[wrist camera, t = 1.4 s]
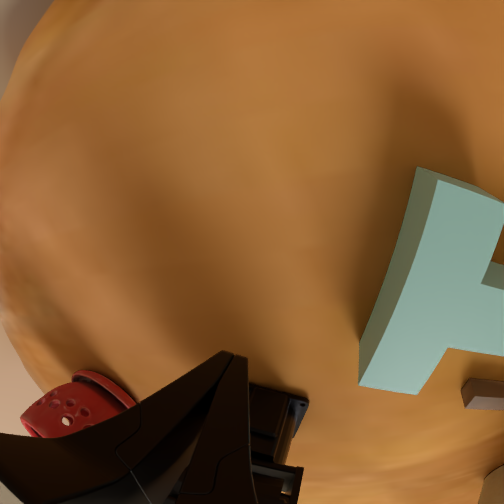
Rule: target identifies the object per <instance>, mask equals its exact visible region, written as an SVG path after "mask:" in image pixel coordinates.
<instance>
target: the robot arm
mask: <svg viewBox="0 0 504 504" xmlns="http://www.w3.org/2000/svg"><path fill="white" fill-rule="evenodd" d="M308 406H309V400H308V399H307V398H303V397H299V396H295V395H291V394H287V393H283V392H279V391H275V390H272V389H268V388H264V387H261V386H257V385H254V384H250V383H249V378H248V358H247V357H244V356H241V355H237V354H236V355H234V354H233V353H231V352H228V351H224V350H222V351H220V352H218V353H217V354H215V355H214V356H212V357H211V358H209V359H208V360H206V361H205V362H203V363H202V364H200V365H199V366H197V367H196V368H194V369H192V370H191V371H189V372H188V373H186V374H185V375H183V376H181V377H180V378H178V379H177V380H175V381H173V382H172V383H170V384H169V385H167V386H165V387H164V388H162V389H161V390H159V391H157V392H156V393H154V394H152V395H151V396H149V397H147V398H146V399H144V400H142V401H141V402H140V403H137V404H135V405H134V406H132V407H130V408H129V409H127V410H125V411H123V412H121V413H119V414H117V415H115V416H113V417H111V418H109V419H107V420H104V421H102V422H100V423H97V424H95V425H92V426H90V427H87V428H85V429H82V430H79V431H77V432H74V433H71V434H69V435H66V436H62V437H56V438H42V437H30V436H20V435H13V434H5V433H0V504H297V501H298V496H299V491H300V486H301V481H302V476H303V470H304V467H298V466H297V467H293V466H288V465H285V463H286V459H287V456H288V452H289V448H290V445H291V441H292V438H294V436H295V434H296V432H297V430H298V428H299V426H300V423H301V421H302V419H303V417H304V415H305V413H306V410H307V408H308ZM281 491H283V492H286V493H285V494H284V493H281Z"/></svg>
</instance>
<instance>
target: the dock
mask: <svg viewBox="0 0 504 504" xmlns="http://www.w3.org/2000/svg"><path fill="white" fill-rule="evenodd" d="M461 394H462V398H463V402H464V406H465V409H482V410H504V382H503V381H492V380H482V379H473V378H470V379H469V380H468V381H467V383H466V384H465V385H464V387H463V388H462V389H461Z"/></svg>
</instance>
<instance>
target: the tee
mask: <svg viewBox="0 0 504 504" xmlns="http://www.w3.org/2000/svg"><path fill="white" fill-rule="evenodd" d="M503 224H504V202H502V201H501V200H499V199H497V198H496V197H494V196H492V195H491V194H489V193H487V192H486V191H484V190H482V189H481V188H479V187H477V186H474V185H472V184H469V183H466V182H464V181H461V180H458V179H455V178H452V177H449V176H446V175H443V174H440V173H437V172H434V171H431V170H428V169H425V168H421V167H418V166H417V168H416V172H415V177H414V181H413V185H412V189H411V193H410V197H409V201H408V205H407V208H406V212H405V216H404V219H403V223H402V226H401V229H400V233H399V236H398V239H397V243H396V246H395V249H394V252H393V255H392V258H391V261H390V264H389V267H388V270H387V273H386V276H385V279H384V282H383V284H382V287H381V290H380V293H379V295H378V298H377V301H376V303H375V306H374V308H373V311H372V313H371V316H370V318H369V321H368V323H367V326H366V328H365V331H364V333H363V335H362V338H361V340H360V342H359V376H358V385H359V386H365V387H370V388H376V389H381V390H387V391H394V392H400V393H407V394H414V395H417V394H418V393H419V391H420V390H421V388H422V387H423V385H424V384H425V383H426V381H427V380H428V378H429V377H430V375H431V374H432V372H433V370H434V369H435V367H436V366H437V364H438V363H439V361H440V359H441V358H442V356H443V355H444V353H445V351H446V350H447V348H448V347H449V348H455V349H461V350H467V351H473V352H479V353H485V354H491V355H498V356H504V265H502V264H498V263H495V262H492V261H490V260H491V258H492V255H493V253H494V250H495V247H496V245H497V242H498V239H499V236H500V233H501V230H502V227H503Z"/></svg>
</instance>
